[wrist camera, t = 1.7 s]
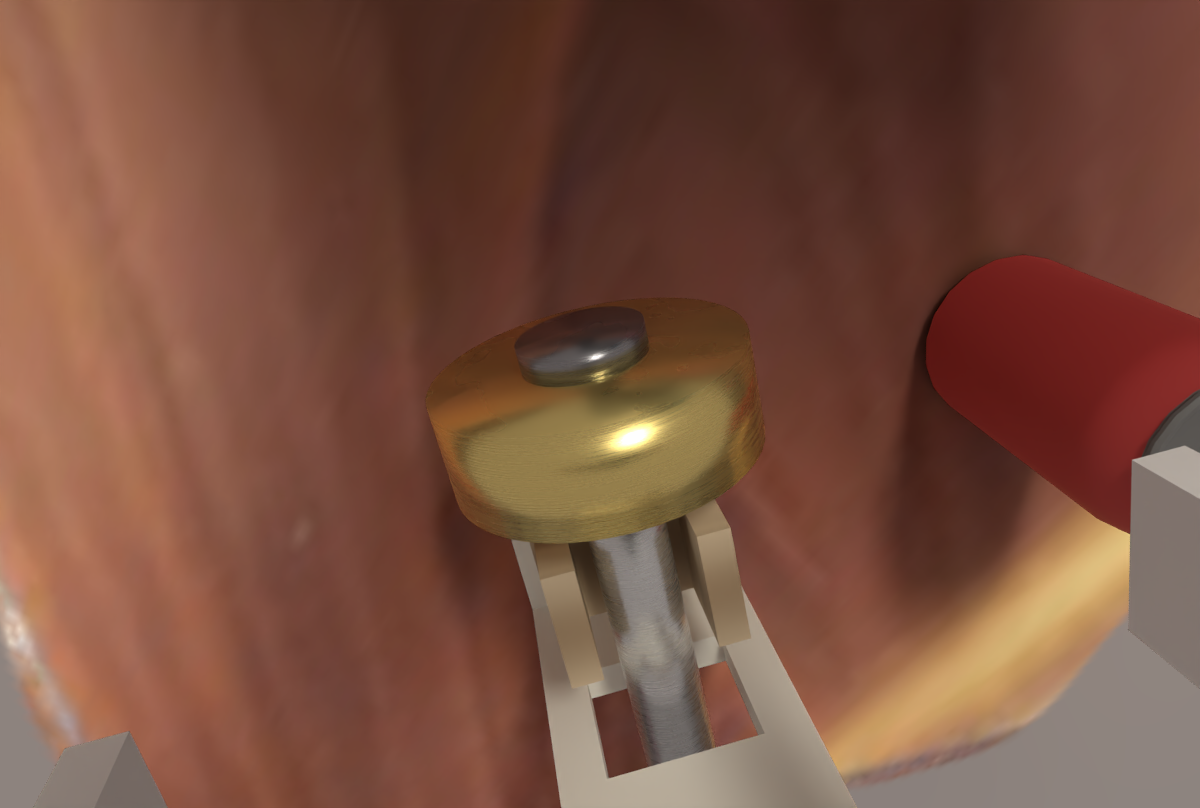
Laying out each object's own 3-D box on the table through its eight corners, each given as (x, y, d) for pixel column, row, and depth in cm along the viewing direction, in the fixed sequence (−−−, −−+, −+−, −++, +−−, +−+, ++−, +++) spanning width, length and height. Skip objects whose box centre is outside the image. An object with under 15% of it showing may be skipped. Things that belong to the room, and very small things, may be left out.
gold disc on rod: (421, 323, 29) (410, 443, 21) (696, 252, 29) (794, 342, 21) (552, 738, 36) (583, 951, 28) (772, 675, 36) (867, 866, 28)
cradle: (511, 440, 35) (533, 582, 26) (664, 399, 35) (737, 525, 26) (537, 529, 36) (565, 690, 28) (683, 489, 37) (757, 636, 28)
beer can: (960, 441, 38) (1169, 612, 27) (889, 319, 35) (1089, 453, 24) (1099, 347, 37) (1373, 484, 26) (1037, 215, 35) (1312, 306, 24)
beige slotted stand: (509, 525, 36) (551, 868, 21) (705, 472, 36) (877, 772, 22) (556, 682, 39) (621, 1073, 25) (736, 631, 40) (904, 986, 25)
